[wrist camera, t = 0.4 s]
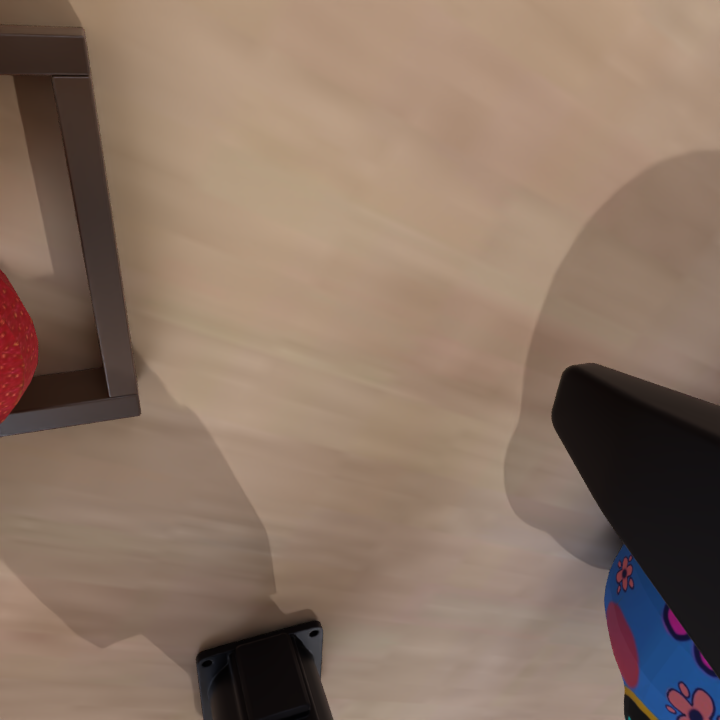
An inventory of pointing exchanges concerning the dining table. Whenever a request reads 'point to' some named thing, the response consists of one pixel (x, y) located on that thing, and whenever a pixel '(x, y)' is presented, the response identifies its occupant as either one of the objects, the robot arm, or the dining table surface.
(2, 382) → the strawberry
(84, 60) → the brown divided wooden frame
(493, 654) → the dining table surface
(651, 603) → the ceramic pot
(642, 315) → the dining table surface
